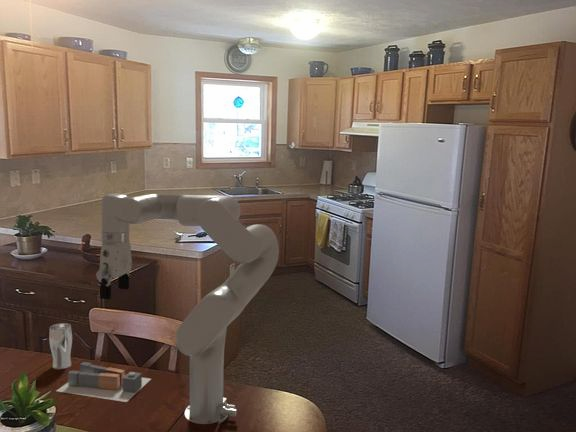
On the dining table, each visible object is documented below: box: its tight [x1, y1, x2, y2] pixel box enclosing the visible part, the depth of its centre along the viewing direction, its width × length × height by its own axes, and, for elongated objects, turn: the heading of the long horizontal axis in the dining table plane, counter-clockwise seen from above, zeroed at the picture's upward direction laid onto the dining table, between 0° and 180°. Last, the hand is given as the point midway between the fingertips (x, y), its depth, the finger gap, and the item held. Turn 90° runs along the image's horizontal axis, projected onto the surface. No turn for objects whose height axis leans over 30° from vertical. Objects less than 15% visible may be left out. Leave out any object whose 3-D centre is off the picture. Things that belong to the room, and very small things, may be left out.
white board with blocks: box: [56, 371, 152, 403], centre depth 155 cm, size 24×15×6 cm, turn 77°
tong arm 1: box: [67, 370, 120, 390], centre depth 153 cm, size 16×2×4 cm, turn 83°
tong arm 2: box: [79, 361, 126, 385], centre depth 158 cm, size 16×2×4 cm, turn 71°
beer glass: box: [48, 322, 73, 370], centre depth 167 cm, size 7×7×15 cm
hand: (114, 293), depth 145 cm, fingers open, 9 cm apart
